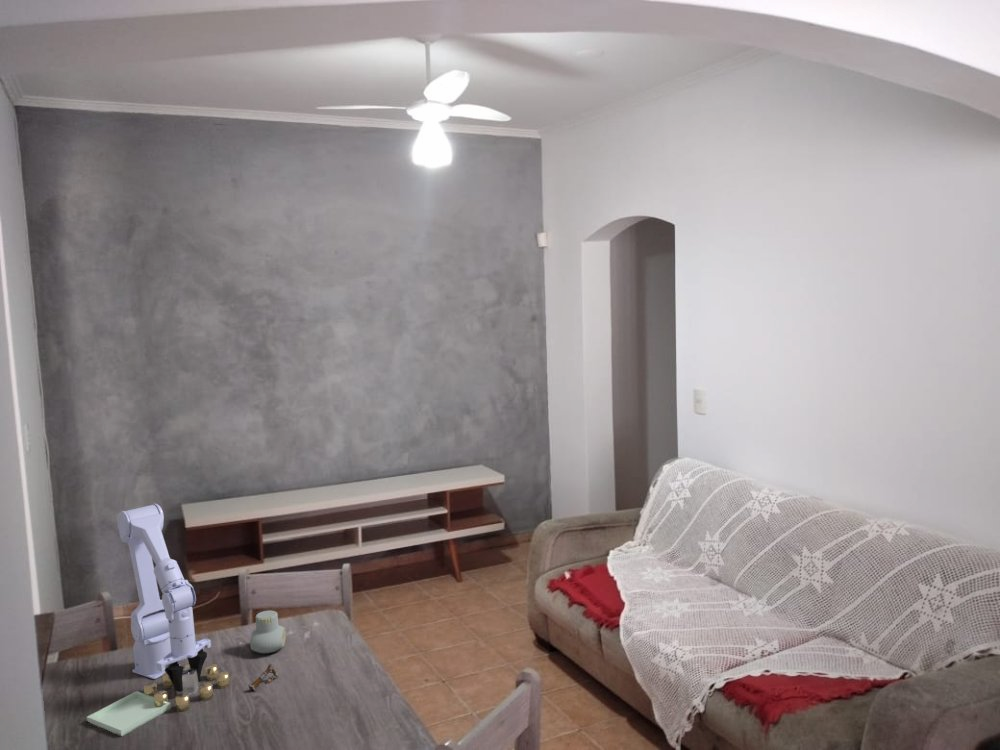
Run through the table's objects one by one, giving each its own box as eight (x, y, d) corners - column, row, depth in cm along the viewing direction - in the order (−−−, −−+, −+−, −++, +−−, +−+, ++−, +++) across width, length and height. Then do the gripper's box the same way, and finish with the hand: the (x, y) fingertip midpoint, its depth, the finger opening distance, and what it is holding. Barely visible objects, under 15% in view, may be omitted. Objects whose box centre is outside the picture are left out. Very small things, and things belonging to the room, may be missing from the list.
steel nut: (173, 693, 198) (171, 673, 197) (188, 684, 202) (186, 665, 201) (187, 697, 195) (185, 678, 195) (202, 689, 199) (200, 670, 198)
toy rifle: (282, 674, 203) (275, 661, 201) (259, 698, 198) (251, 686, 196) (278, 672, 204) (271, 660, 202) (255, 696, 199) (247, 684, 197)
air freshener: (257, 641, 225) (254, 607, 224) (287, 638, 226) (284, 605, 225) (250, 659, 214) (246, 624, 213) (281, 656, 215) (278, 621, 214)
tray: (87, 722, 186) (86, 716, 186) (137, 696, 197) (136, 691, 197) (121, 736, 179) (120, 730, 179) (171, 708, 190) (170, 702, 190)
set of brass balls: (134, 700, 195) (132, 689, 195) (195, 668, 210) (194, 657, 210) (179, 716, 186) (178, 704, 186) (239, 682, 202) (238, 671, 201)
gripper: (167, 649, 188) (172, 703, 190) (216, 625, 201) (221, 676, 202) (148, 643, 192) (154, 696, 194) (198, 620, 204) (203, 670, 206)
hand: (187, 685), depth 198 cm, fingers closed on steel nut, 4 cm apart
